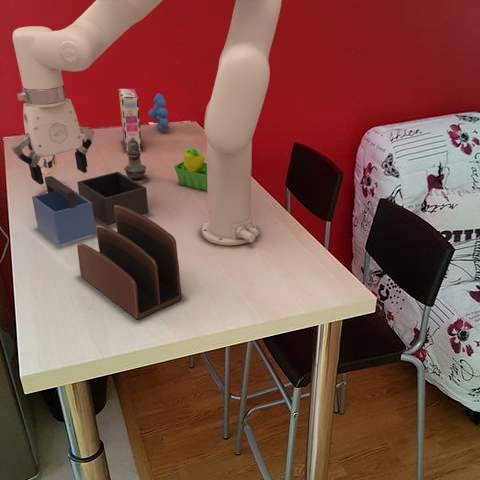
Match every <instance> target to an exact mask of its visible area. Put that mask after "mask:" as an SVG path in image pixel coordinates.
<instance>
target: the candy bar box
mask: <svg viewBox="0 0 480 480" xmlns="http://www.w3.org/2000/svg"><path fill="white" fill-rule="evenodd" d="M118 94H119V106H120V108H119V109H120V119H121V129H122V141H123V144H124V147H125V152H127V153H128V145H127V144H128V142H129V141H131V140H132V137H133V140H134V141H137V142H138V144H139V152H142V150H143V148H142V135H141V134H142V133H141V120H140V119H141V118H140V108H139V107H140V106H139V105H140V104H139V96H138V95H137V92H136V89H135V88H118Z"/></svg>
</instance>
